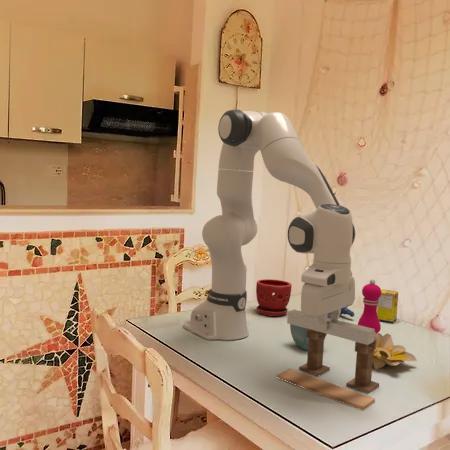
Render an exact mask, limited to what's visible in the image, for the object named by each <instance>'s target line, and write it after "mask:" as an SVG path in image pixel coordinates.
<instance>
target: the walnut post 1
mask: <svg viewBox="0 0 450 450" xmlns="http://www.w3.org/2000/svg"><path fill="white" fill-rule="evenodd" d="M327 335H328V334H326V333H322V332H318V331H314V330H311V329H307V335H306V337H308V338H309V341H308V350H307V360H306V363H304V364H301V365H300V366H298V370H299V369H300V370H299V371H301V370H303V371H302V372H304V371H306V372H305V373H307V372H308V374H310V373H312V374H311V375H313V374H315V375H314V376H316V375H317V377H319V375H320V376H322V375H324V374H325V373H327V372H329V371H331V367H330V366H328V365H324V364H323V363H324V362H323V361H324V360H323V359H324V347H325V346H324V345H325V339H324V336H327ZM323 373H324V374H323ZM321 374H322V375H321Z"/></svg>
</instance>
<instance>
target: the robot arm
mask: <svg viewBox="0 0 450 450" xmlns="http://www.w3.org/2000/svg"><path fill="white" fill-rule="evenodd" d="M217 130H218V131H217V132H218V137H219V138H220V140H221V141H222V146H221V150H220V153H219V159H218V160H219V162H218V169H217V182H216V183H217V186H216V195H217V197H218V199H219V201H220V206H221V215H216V216H214V217H212V218H210V219H209V220H208V221H207V222H206V223H205V224H204V225H203V228H202V232H201V233H202V234H201V235H202V237H201V238H202V240H203V242H204V244H205V245H206V247H207V249H208V251H209V256H210V263H211V288H210V289H208V290H204V292H205V293H204V295H207V297H206V300H204V301H202V302H201V303H199V304H198V305H196V307H194V308H193V309H192V311H191V313H190V319H189V320H187V321H186V322H184V323H183V324H182V328H184V329H185V330H188V331H189V332H192V333H193V334H196V335H198V336H199V337H201V338H204V339H205V340H223V341H224V340H225V341H227V340H228V341H232V340H240V339H244V338H246V337H248V335H249V330H248V324H247V316H246V313H247V312H246V305H247V299H248V297H247V296H248V295H247V289H246V286H247V285H246V284H247V271H248V270H247V266H246V264H245V263H244V262H245V261H244V260H243V253H242V247H243V246H246V245H248V244H249V243H250V242H252V241H253V239H255V237H256V236H257V233H258V224H257V221H256V220H255V217H254V215H255V214H254V209H253V208H254V207H253V199H252V196H253V193H252V192H253V182H254V181H253V179H254V171H255V170H254V169H255V167H254V166H255V156H256V154H257V153H258V152H259V151H260V153H261V157H262V160H263V163H264V165H265V168H266V170H267V171H268V173H269V174H270V175H271V177H272V178H274V179H276V180H277V181H280V182H282V183H286V184H289V185H292V186H294V187H297V188H299V189H301V190H302V191H304V192H305V193H307V194H308V196H310V199H311V200H312V202H313V205H314V207H315V211H312V212H310V213H308V214H304V215H301V216H296V217H294V218H293V219H292V221H290V223H289V225H288V229H287V241H288V243H289V246H290V247H291V249H292V250H293V251H295V252H296V253H301V254H313V258H312V259H313V262H312V264H311V265H310V266H309V267H308V268H307V269H306V270H305V271H304V272H302V274H301V277H300V278H301V283H304V284H303V285H302V287H301V294H300V311H301V312H302V314H303V315H304V316H306V317H310V318H317V319H318V322H319V330H321V331H326V330H328V326H329V323H327V320H326V318H328V317H327V314H328V313H330V312H331V316H330V318H331V319H335V320H339V318H340V316H341V314H340V313H341V308H344V307H346V306H348V307H350V306H349V305H351V306H352V305H353V304H354V302H355V300H356V283H355V278H354V276H353V272H352V270H351V267H352V258H351V249H352V246H353V244H354V242H355V239H356V229H355V228H356V227H355V224H353V217H352V213H351V210H350V209H349V208H347V207H346V206H344V205H340V203H339V201H338V199H337V197H336V194H335V193H334V192H333V190H332V187H331V186H330V184H329V182H328V180H327V178H326V176H325V175H324V173H323V172H322V170H321V169H320V168H319V166H317V165H316V164H315V163H314V162H313V161H312V159H311V158H310V157H309V156H308V153H306V151H305V149H304V147H303V146H302V143H301V141H300V138H299V135H298V134H297V131H296V129H295V127H294V125H293V124H292V121H291V120H290V119H289V117H288V116H287V115H286V114H285V113H283V112H280V111H271V112H269V113H268V112H264V111H259V110H240V109H231V110H230V109H229V110H227V111H225V112H224V113H223V114H222V116H221V117H220V119H219V122H218V129H217Z"/></svg>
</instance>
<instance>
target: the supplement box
mask: <svg viewBox="0 0 450 450" xmlns="http://www.w3.org/2000/svg"><path fill="white" fill-rule="evenodd" d="M378 300H379V304H378V305H377V316H378V319H379V321H380V322H383V323H389V324H394V323H395V322H394V321H396V320H397V317H398V315H397V314H398V306H399V305H398V304H399V291H397V290H396V291H395V290H389V289H381V296H380V297H379V298H378Z"/></svg>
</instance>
